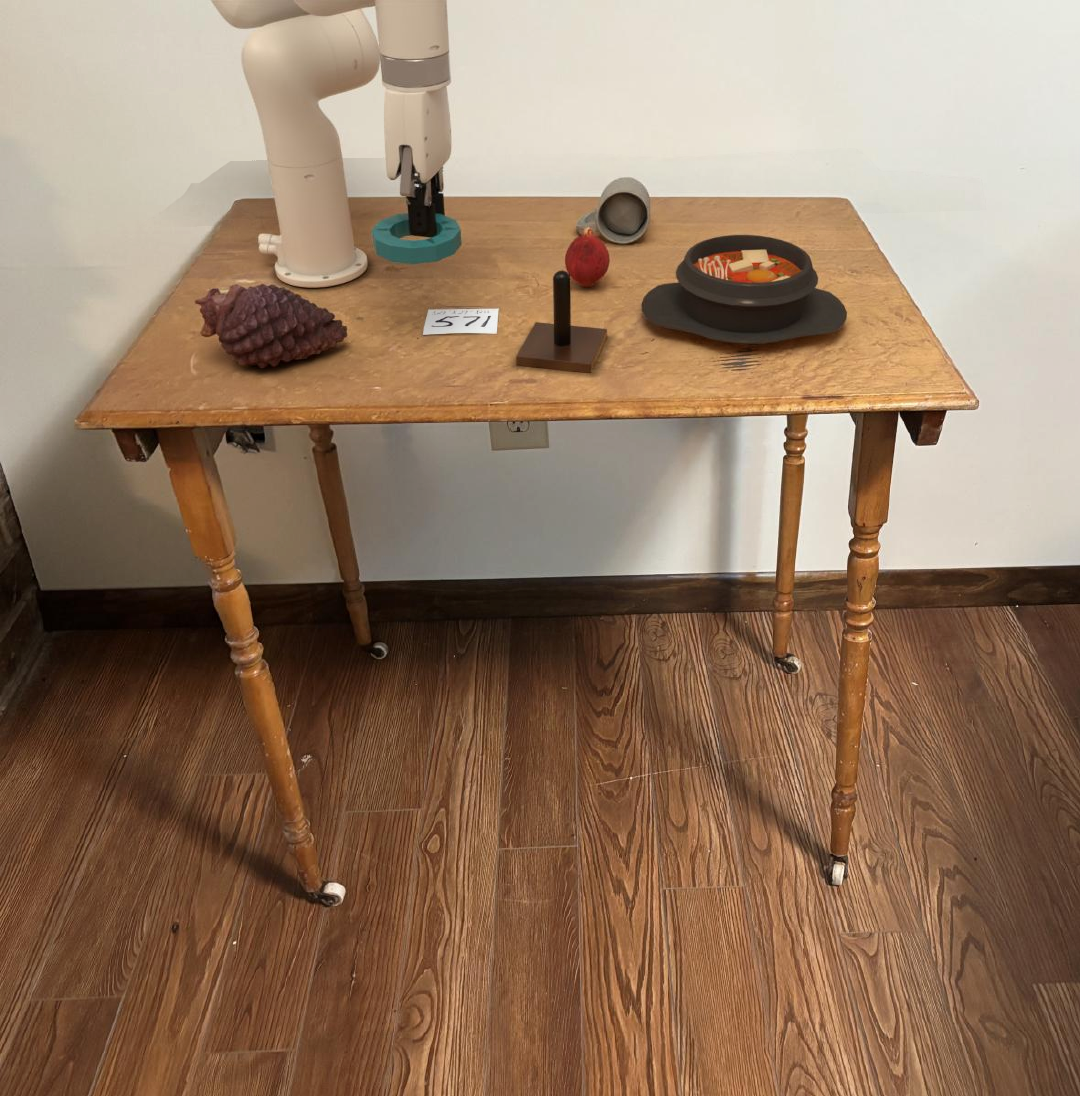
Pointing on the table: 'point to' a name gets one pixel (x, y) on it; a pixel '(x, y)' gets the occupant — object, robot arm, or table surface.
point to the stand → (562, 337)
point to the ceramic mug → (620, 212)
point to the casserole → (745, 293)
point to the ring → (415, 250)
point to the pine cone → (268, 324)
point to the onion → (587, 259)
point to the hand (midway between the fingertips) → (427, 229)
